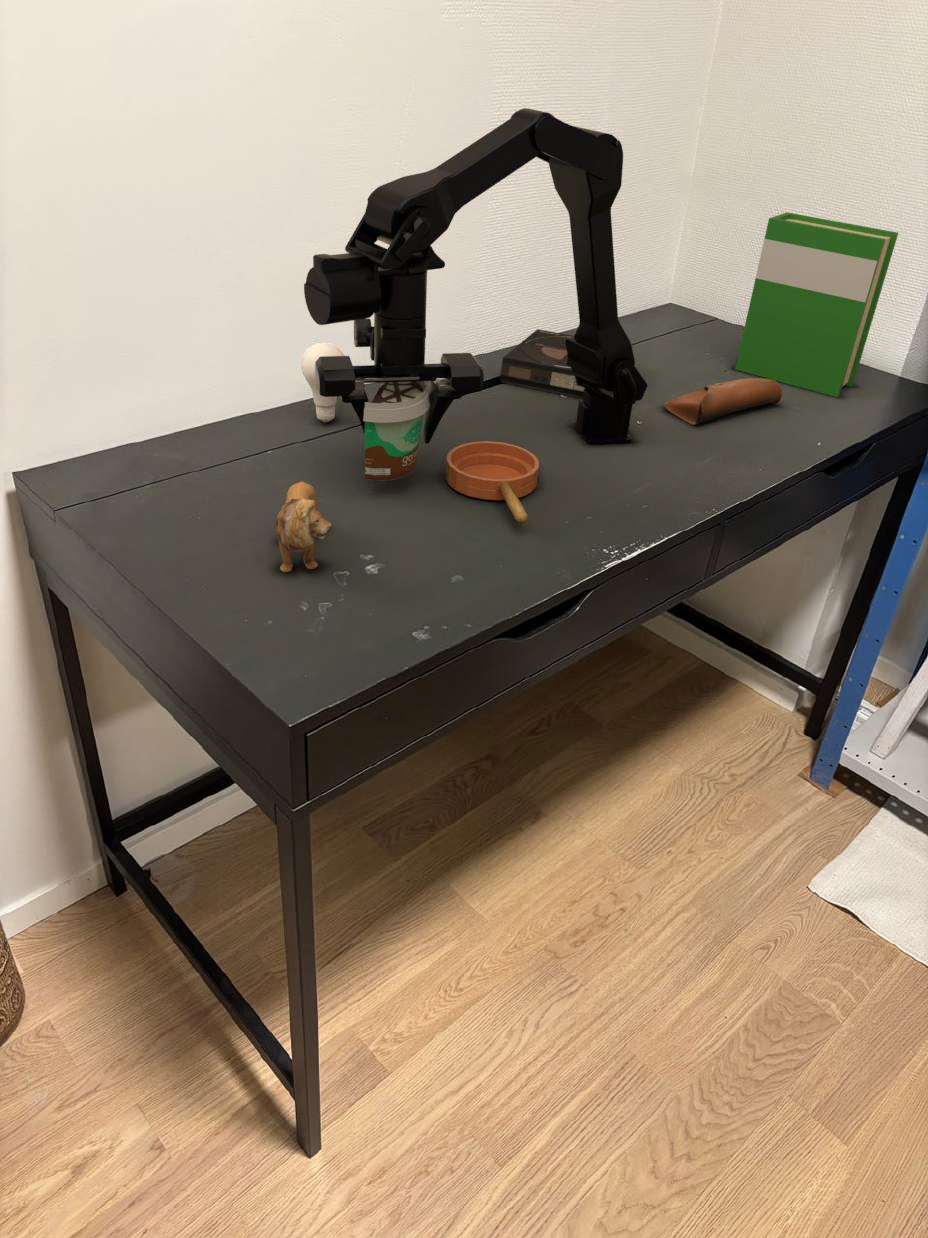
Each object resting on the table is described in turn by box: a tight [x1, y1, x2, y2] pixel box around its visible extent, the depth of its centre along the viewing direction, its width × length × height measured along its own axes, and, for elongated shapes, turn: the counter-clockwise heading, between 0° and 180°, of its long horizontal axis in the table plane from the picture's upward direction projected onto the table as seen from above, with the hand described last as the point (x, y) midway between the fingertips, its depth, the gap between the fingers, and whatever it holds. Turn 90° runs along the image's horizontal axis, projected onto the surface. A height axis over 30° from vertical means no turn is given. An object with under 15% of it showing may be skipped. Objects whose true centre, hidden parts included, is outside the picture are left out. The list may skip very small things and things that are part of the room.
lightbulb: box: [300, 341, 345, 423], centre depth 128 cm, size 6×6×11 cm
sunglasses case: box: [662, 377, 783, 426], centre depth 143 cm, size 18×7×7 cm, turn 125°
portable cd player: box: [499, 328, 633, 400], centre depth 151 cm, size 16×17×4 cm
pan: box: [445, 440, 540, 501], centre depth 118 cm, size 11×11×3 cm
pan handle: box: [499, 481, 529, 524], centre depth 110 cm, size 1×9×1 cm, turn 13°
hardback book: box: [734, 211, 899, 398], centre depth 151 cm, size 18×7×24 cm, turn 53°
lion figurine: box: [275, 481, 332, 573], centre depth 99 cm, size 15×5×9 cm, turn 13°
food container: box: [363, 381, 430, 482], centre depth 112 cm, size 12×6×10 cm, turn 170°
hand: (398, 443), depth 113 cm, fingers closed on food container, 6 cm apart
